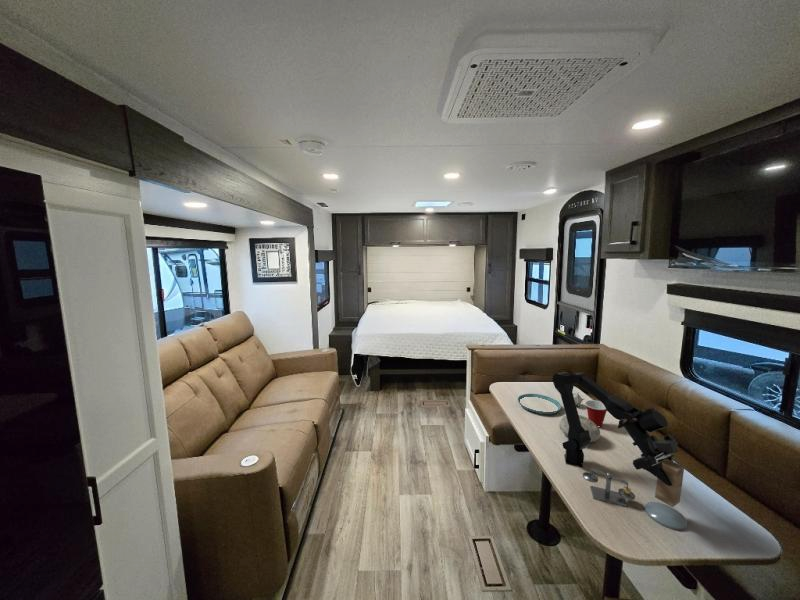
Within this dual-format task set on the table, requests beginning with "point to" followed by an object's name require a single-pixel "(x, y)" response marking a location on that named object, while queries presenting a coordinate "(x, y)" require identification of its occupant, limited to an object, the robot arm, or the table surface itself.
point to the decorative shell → (585, 423)
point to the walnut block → (675, 476)
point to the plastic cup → (596, 411)
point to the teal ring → (542, 398)
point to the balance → (608, 489)
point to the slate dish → (666, 515)
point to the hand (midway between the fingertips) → (674, 483)
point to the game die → (577, 398)
